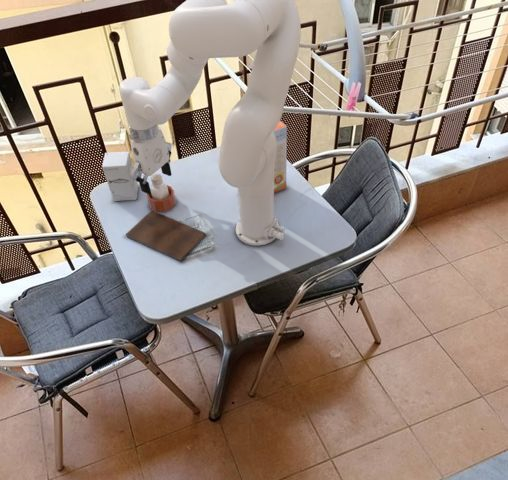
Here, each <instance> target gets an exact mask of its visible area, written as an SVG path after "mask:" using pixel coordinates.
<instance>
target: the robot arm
mask: <svg viewBox="0 0 508 480" xmlns="http://www.w3.org/2000/svg"><path fill="white" fill-rule="evenodd" d="M301 27H302V26H301V17H300V11H299V9H298V6H297V3H296V1H295V0H232V1H231V2H230V3H228V1H227V0H185V1H184V2H182V3H181V4H180V5H178V6H177V7H176V8H175V10H173V12H172V13H171V16H170V18H169V22H168V34H169V39H170V41H169V43H168V45H167V49H166V56H167V59H168V62H169V63H170V64H171V65H170V66H169V68H168V70H167V72H166V74H165V76H164V77H163V78H161V80H159V81H158V82H157V83H156V84H155V85H153V87H151V86H150V83H149V82H148V81H147V80H146V79H145V78H143V77H139V76H131V77H126V78H124V79H123V80H122V81H121V82H120V83H119V85H118V91H119V96H120V99H121V104H122V108H123V111H124V114H125V118H126V121H127V126H128V129H129V133H130V134H129V135H128V138H129V140H130V147H131V149H130V150H131V154H132V159H133V169H132V171H131V172H130V177H131V178H132V179H133V180H135V181H137V183H138V185H139V187H140V190H141V192H142V193H144V194H146V195H147V194H151V190H150V188H151V186H150V183H149V181H148V179H149V178H148V177H151V176H152V175H154V174H156V172H157V171H159V170H161V173H162V174H163V175H166V176H168V177H172V175H173V174H172V168H171V165H170V164H171V156H172V147H173V145H172V143H171V142H168V141H166V138H165V135H164V133H163V131H162V129H161V127H159V126H162V125H164V124H166V123H167V122H168V121H169V120H170V119H172V117H173V116H174V115H175V114H176V113H177V112H178V111H179V110H180V109H181V108H182V107H183V106H184V105H185V104H186V103H187V102H188V100H189V99H190V98H191V95H192V94H193V92H194V90H196V87H197V86H198V84H199V83H200V80H201V78H202V75H203V70H204V68H206V67H205V66H206V65H207V63H208V62H209V60H210V59H227V58H242V57H246V56H248V55H250V54H253V53H254V52H255V55H254V58H253V61H252V65H251V70H250V75H249V76H250V77H249V81H248V83H247V84H248V85H247V88H246V91H245V92H244V94H243V95H242V96H241V98H240V99H238V101H237V102H236V103H235V105H234V106H233V107H232V108H231V110H230V112H229V113H228V115H227V116H226V119H225V121H224V125H223V131H222V135H221V136H222V137H221V142H220V149H219V155H218V169H219V173H220V175H221V177H222V179H223V180H224V181H225V183H226V184H227V185H229V186H230V187H233V188H235V189H237V197H238V208H239V209H238V210H239V221H237V223H236V225H235V235H236V237H237V238H238V240H239V241H241V242H242V243H244V244H245V245H249V246H264V245H267V244H270V243H272V242H273V241H275V240H276V239H277V240H280V241H283V240H284V239H285V236H286V234H285V231H286V227H283V226H280V224H279V222H278V218H276V217H275V211H274V210H275V203H274V202H275V199H274V198H275V193H274V167H275V160H276V152H277V142H276V138H275V135H274V133H273V130H274V129H275V128H276V126H277V125H278V123H279V121H281V120H282V116H283V112H284V108H285V105H286V101H287V97H288V93H289V89H290V86H291V81H292V77H293V73H294V70H295V66H296V62H297V59H298V55H299V50H300V42H301V36H302V35H301V32H302V29H301ZM142 175H143V177H142Z"/></svg>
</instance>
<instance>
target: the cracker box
mask: <svg viewBox="0 0 508 480" xmlns="http://www.w3.org/2000/svg"><path fill="white" fill-rule="evenodd" d="M287 130H288V126H287V125H286V124H285V123H284V122H283V121H282V120H280V121H279V123H278V125H277V126H276V128H275V129H274V130H273V133H274V135H275V138H276V142H277V152H276V160H275V167H274V194H275V193H277V192H281V191H283V190H285V189H287V153H288V152H287V151H288V150H287V149H288V148H287V146H288V144H287V143H288V142H287V141H288V138H287V137H288V131H287Z"/></svg>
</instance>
